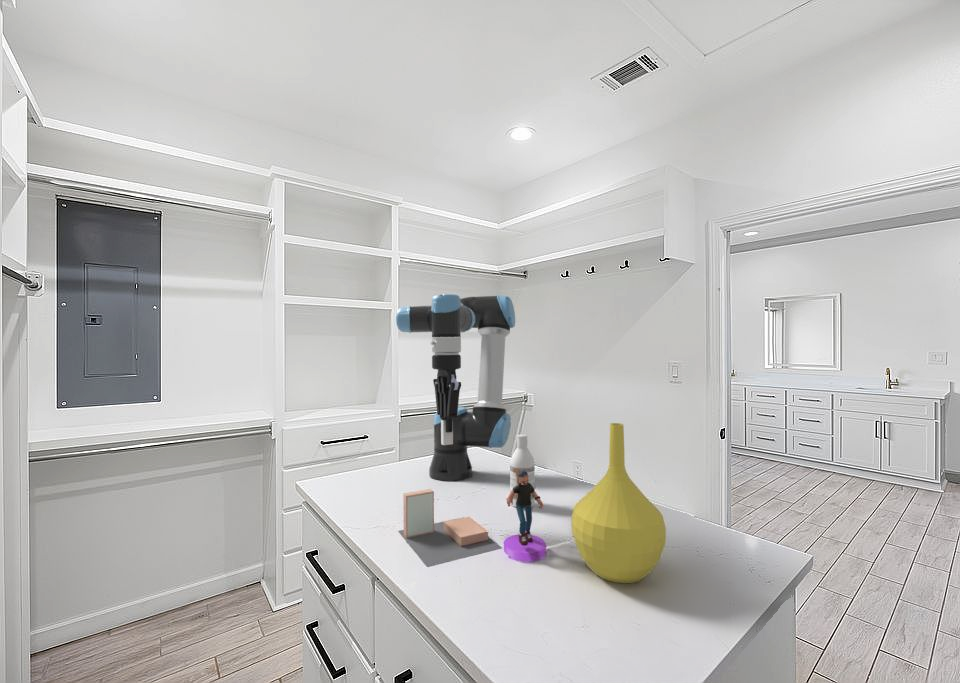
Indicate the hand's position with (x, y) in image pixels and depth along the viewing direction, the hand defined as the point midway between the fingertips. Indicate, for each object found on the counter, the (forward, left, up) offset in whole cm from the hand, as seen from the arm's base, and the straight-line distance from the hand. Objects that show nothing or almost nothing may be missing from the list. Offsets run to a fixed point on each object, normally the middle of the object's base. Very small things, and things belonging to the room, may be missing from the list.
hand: (447, 443), depth 117 cm
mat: (+5, +11, -20) cm, 23 cm away
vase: (-20, +40, -20) cm, 49 cm away
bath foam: (-23, 0, -20) cm, 31 cm away
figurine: (-8, +24, -20) cm, 32 cm away
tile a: (0, +6, -19) cm, 20 cm away
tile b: (+10, +5, -20) cm, 22 cm away
